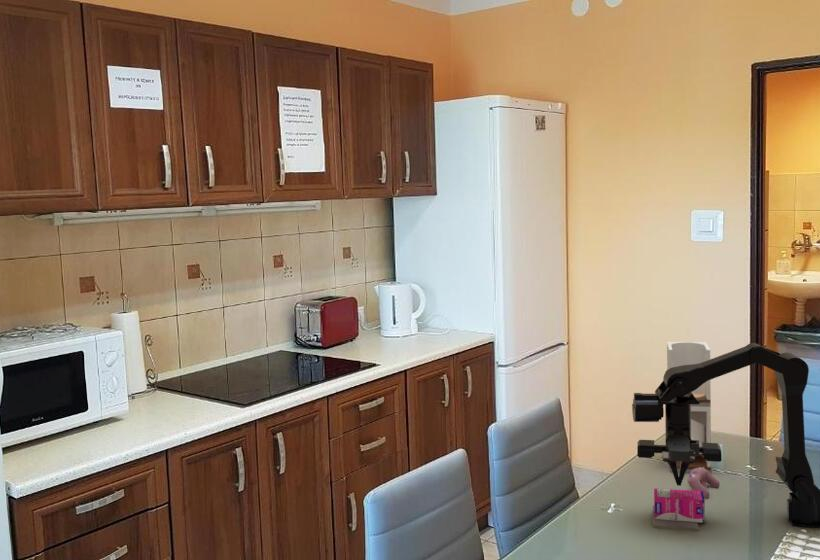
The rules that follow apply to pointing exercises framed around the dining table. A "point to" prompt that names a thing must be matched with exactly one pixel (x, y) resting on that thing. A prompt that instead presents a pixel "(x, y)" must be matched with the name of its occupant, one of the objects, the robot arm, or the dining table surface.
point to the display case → (699, 412)
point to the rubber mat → (674, 524)
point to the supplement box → (679, 505)
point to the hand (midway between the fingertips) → (678, 485)
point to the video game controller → (702, 480)
